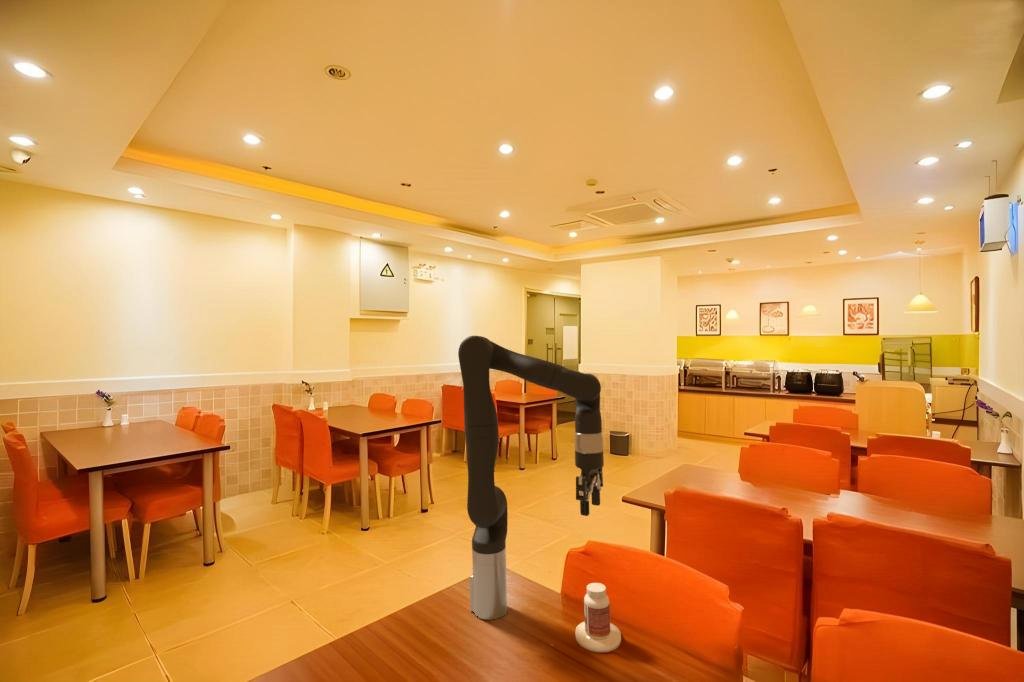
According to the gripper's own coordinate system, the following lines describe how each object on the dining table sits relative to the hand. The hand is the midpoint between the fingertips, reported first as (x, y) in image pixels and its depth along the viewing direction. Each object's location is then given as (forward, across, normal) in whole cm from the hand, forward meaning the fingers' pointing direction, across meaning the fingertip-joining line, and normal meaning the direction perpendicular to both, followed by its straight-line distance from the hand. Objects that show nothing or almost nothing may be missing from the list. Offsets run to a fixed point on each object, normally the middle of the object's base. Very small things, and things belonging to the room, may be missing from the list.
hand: (590, 509), depth 123 cm
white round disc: (+28, +8, +4) cm, 29 cm away
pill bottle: (+27, +8, +4) cm, 29 cm away
